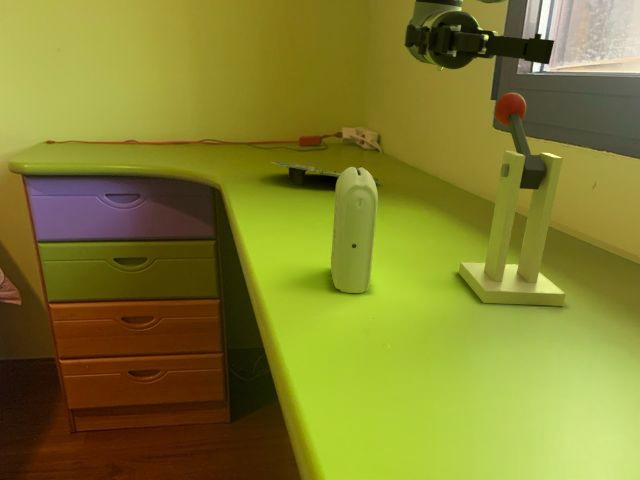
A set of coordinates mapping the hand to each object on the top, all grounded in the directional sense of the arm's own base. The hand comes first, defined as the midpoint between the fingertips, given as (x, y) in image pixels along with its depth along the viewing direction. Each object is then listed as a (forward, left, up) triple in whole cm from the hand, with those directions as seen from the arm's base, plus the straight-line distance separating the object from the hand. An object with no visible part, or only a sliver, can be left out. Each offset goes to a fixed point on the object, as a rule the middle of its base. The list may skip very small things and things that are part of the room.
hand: (498, 46), depth 86 cm
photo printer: (+12, +24, -25) cm, 37 cm away
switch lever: (-4, +13, -11) cm, 17 cm away
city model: (+32, -46, -25) cm, 62 cm away
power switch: (-6, +19, -25) cm, 32 cm away
